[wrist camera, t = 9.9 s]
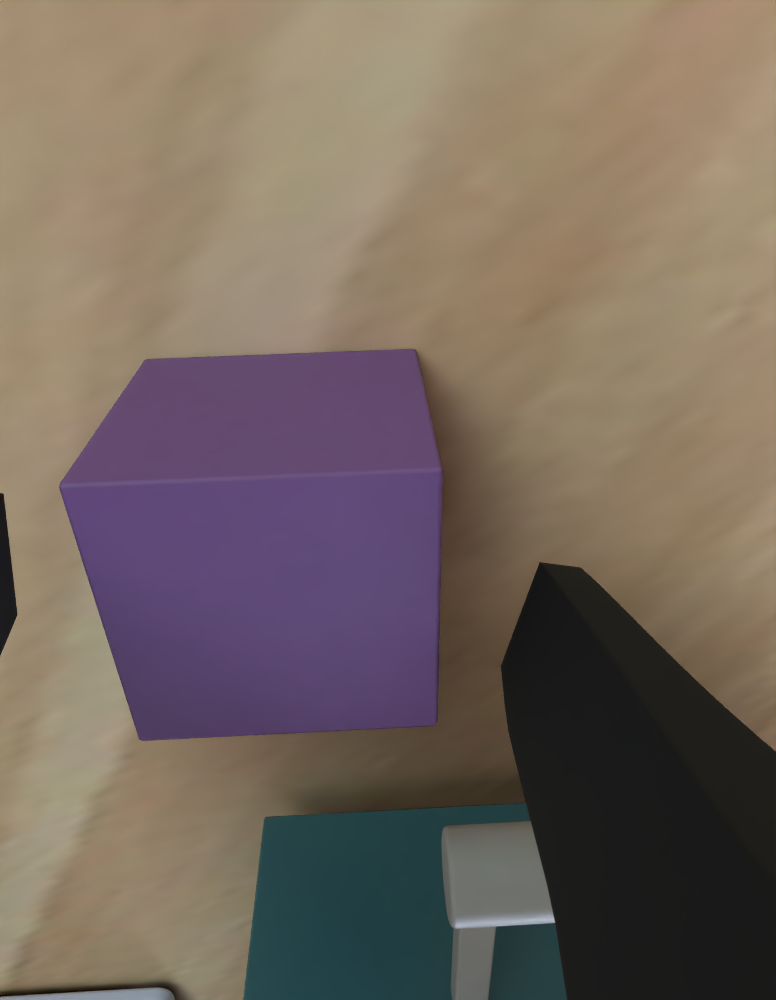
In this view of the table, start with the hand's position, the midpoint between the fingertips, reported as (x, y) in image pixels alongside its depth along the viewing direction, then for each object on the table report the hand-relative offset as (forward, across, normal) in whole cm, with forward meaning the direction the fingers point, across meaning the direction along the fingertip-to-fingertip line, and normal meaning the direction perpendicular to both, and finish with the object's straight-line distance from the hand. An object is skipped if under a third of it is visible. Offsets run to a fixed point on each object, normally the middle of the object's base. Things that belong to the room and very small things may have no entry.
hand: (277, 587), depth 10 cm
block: (+3, 0, 0) cm, 3 cm away
